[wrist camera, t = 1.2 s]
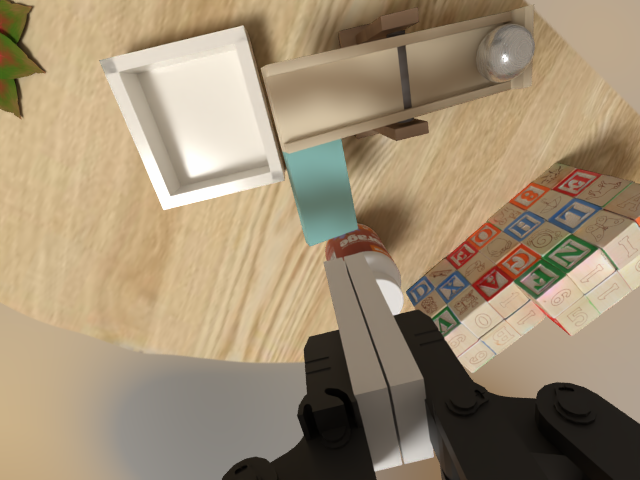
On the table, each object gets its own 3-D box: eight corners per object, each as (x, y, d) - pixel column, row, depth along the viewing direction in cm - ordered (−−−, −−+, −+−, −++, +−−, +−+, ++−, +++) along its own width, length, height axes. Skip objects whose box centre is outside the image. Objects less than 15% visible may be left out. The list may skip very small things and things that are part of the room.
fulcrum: (337, 32, 30) (358, 10, 22) (394, 19, 30) (437, -10, 22) (356, 137, 34) (379, 153, 25) (406, 125, 34) (446, 137, 25)
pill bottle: (384, 224, 38) (421, 273, 27) (374, 274, 40) (404, 336, 30) (328, 219, 37) (345, 268, 27) (320, 270, 39) (333, 333, 29)
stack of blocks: (435, 319, 44) (487, 399, 32) (403, 291, 41) (448, 366, 30) (582, 198, 39) (704, 243, 28) (555, 159, 37) (676, 190, 25)
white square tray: (122, 64, 29) (99, 60, 26) (248, 33, 29) (243, 25, 26) (176, 197, 34) (163, 209, 31) (284, 170, 34) (284, 180, 31)
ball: (463, 35, 25) (499, 24, 21) (507, 24, 25) (549, 13, 22) (466, 88, 26) (500, 86, 23) (507, 78, 27) (546, 74, 23)
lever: (258, 63, 22) (269, 56, 19) (500, 10, 26) (534, -1, 24) (305, 241, 27) (318, 254, 24) (500, 171, 31) (529, 176, 29)
